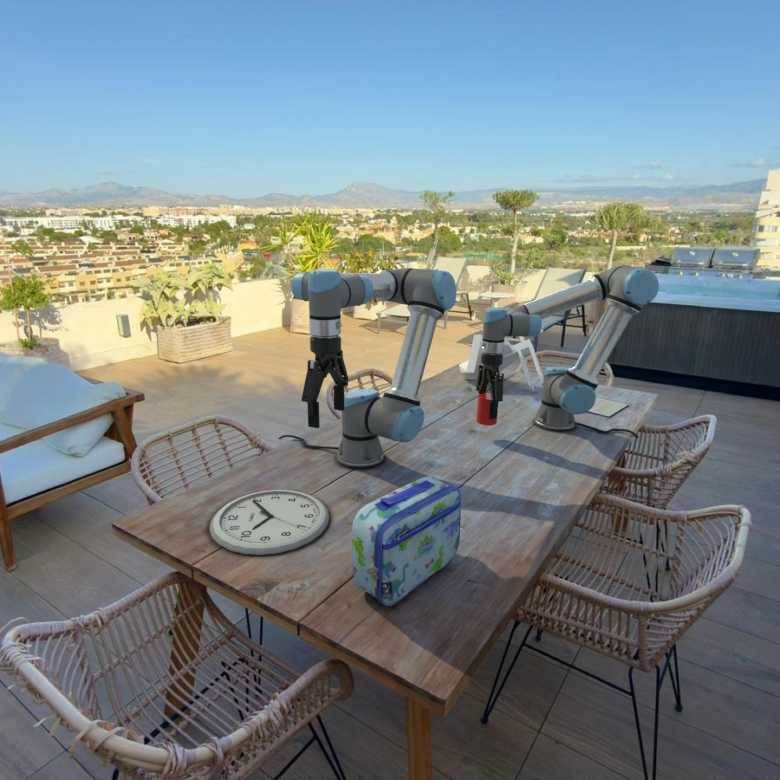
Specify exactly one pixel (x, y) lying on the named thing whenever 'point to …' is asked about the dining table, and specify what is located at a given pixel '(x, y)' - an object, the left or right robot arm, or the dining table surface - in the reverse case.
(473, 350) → the white plastic object
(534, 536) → the dining table surface
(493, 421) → the tin
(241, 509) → the wall clock
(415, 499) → the lunch box
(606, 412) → the invitation card
